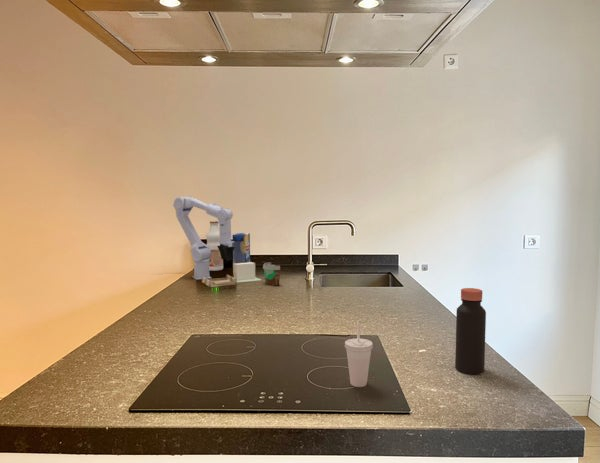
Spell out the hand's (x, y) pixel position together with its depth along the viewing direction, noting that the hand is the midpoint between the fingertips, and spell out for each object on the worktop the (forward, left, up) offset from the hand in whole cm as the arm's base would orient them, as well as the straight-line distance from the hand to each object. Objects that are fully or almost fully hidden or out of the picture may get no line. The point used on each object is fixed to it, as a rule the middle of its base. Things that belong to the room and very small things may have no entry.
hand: (226, 259), depth 230 cm
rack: (+7, -6, -10) cm, 14 cm away
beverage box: (-12, +13, -11) cm, 21 cm away
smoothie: (+136, -13, -11) cm, 137 cm away
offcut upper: (+11, -6, -10) cm, 16 cm away
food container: (+21, +15, -11) cm, 27 cm away
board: (+4, +9, -10) cm, 14 cm away
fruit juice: (-35, +5, -11) cm, 37 cm away
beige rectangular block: (+4, +8, -10) cm, 13 cm away
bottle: (+142, +16, -11) cm, 143 cm away
